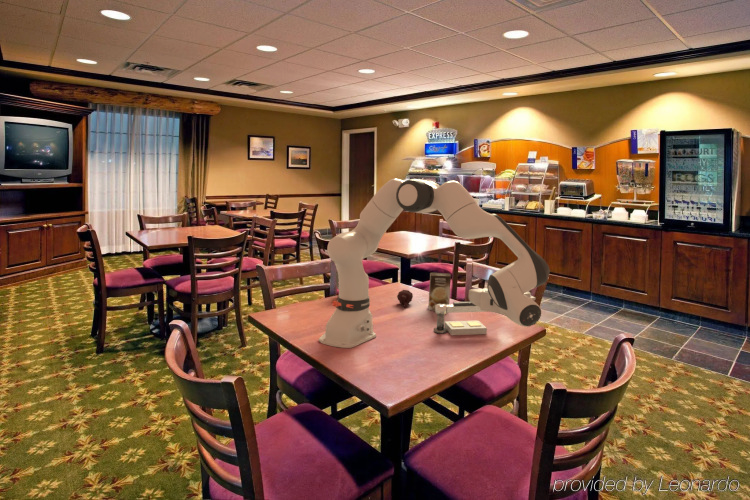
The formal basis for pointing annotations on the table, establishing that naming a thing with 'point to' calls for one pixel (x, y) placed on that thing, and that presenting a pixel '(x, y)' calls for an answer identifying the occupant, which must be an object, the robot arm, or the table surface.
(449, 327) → the block
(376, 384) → the table surface
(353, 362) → the table surface
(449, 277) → the coffee box
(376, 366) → the table surface
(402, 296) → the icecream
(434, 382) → the table surface
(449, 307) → the bar
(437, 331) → the post
